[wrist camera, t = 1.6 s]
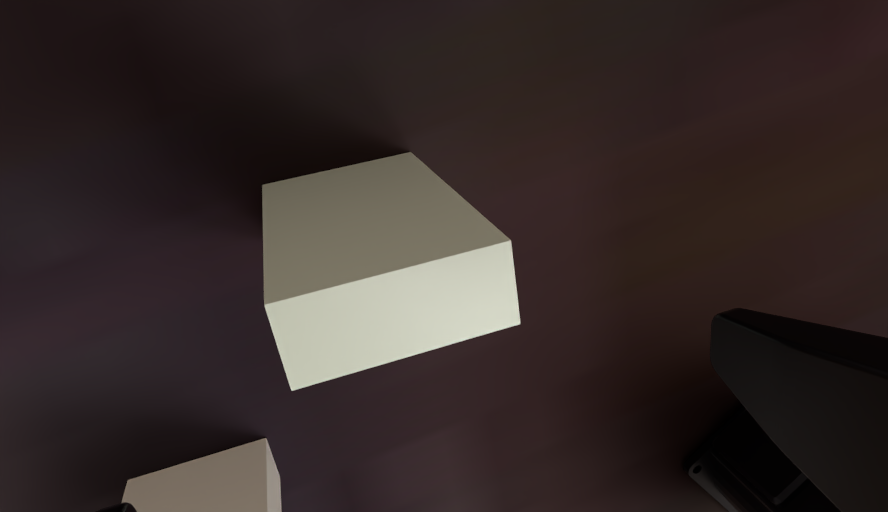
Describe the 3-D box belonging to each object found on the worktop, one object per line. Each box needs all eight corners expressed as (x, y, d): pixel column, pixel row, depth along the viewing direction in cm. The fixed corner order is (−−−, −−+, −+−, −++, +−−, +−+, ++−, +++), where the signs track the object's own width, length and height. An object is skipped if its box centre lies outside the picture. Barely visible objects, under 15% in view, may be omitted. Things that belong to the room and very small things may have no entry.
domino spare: (262, 184, 19) (264, 304, 11) (410, 152, 20) (510, 240, 12) (278, 241, 20) (291, 390, 12) (420, 207, 21) (520, 324, 13)
